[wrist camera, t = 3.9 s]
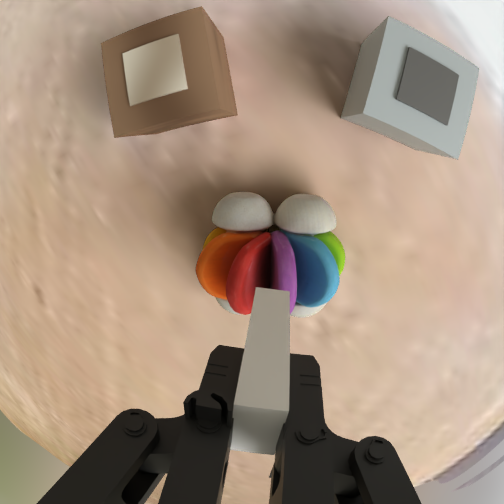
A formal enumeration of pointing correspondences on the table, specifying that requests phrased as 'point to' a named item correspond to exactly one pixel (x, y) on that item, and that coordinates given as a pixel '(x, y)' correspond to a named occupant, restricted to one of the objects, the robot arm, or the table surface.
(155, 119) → the walnut block
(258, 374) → the robot arm
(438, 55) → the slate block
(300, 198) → the rainbow segmented toy
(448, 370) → the table surface
